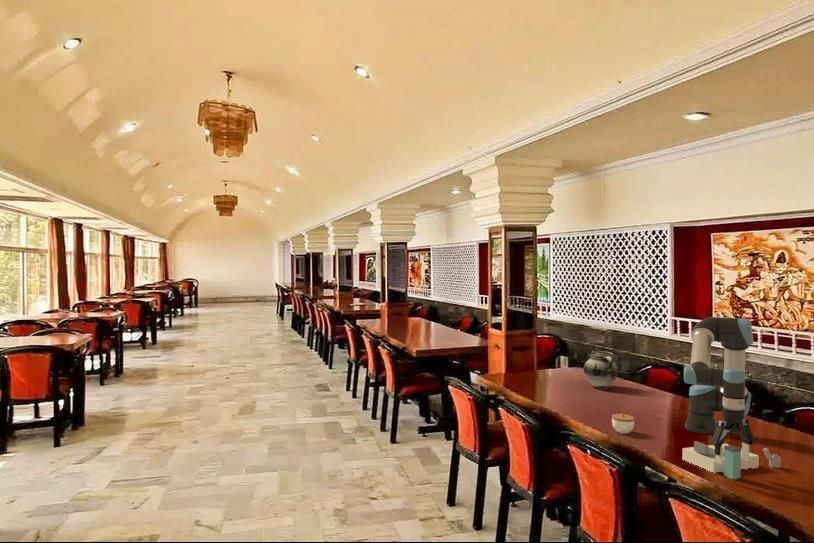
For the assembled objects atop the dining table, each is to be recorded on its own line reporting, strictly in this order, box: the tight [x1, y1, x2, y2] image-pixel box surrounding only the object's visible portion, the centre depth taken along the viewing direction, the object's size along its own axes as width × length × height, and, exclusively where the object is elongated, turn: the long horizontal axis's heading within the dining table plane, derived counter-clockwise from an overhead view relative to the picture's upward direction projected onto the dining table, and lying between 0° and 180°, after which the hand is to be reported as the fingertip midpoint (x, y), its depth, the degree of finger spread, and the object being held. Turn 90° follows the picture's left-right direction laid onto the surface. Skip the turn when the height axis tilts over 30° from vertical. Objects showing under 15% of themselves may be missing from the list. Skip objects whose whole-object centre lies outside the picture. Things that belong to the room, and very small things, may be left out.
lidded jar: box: [611, 413, 636, 435], centre depth 272 cm, size 11×11×9 cm
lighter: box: [762, 447, 782, 469], centre depth 226 cm, size 7×2×8 cm, turn 95°
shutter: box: [693, 440, 724, 457], centre depth 227 cm, size 9×8×4 cm
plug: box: [723, 444, 742, 480], centre depth 214 cm, size 4×4×12 cm
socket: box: [681, 443, 760, 474], centre depth 229 cm, size 24×16×5 cm, turn 108°
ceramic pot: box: [583, 350, 620, 390], centre depth 372 cm, size 29×23×25 cm
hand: (732, 461), depth 214 cm, fingers open, 13 cm apart
